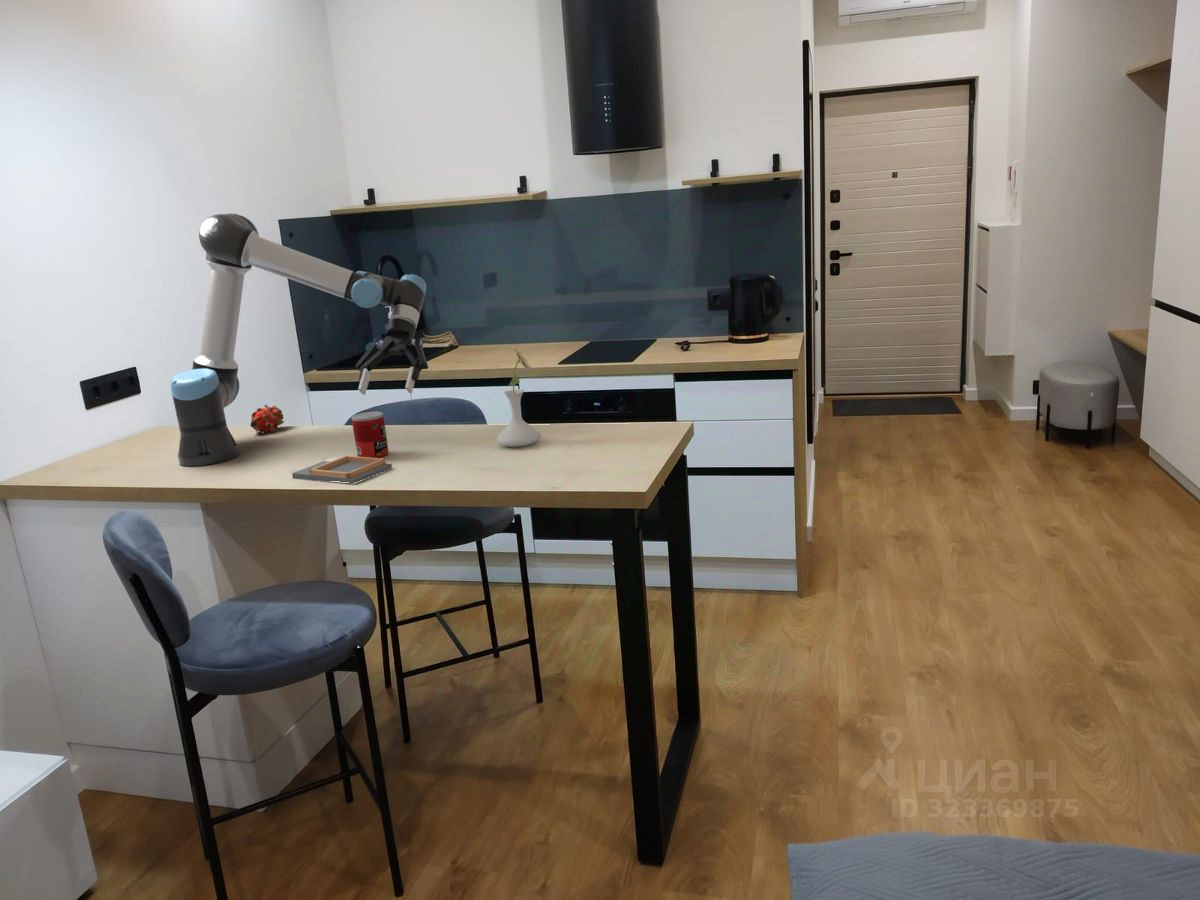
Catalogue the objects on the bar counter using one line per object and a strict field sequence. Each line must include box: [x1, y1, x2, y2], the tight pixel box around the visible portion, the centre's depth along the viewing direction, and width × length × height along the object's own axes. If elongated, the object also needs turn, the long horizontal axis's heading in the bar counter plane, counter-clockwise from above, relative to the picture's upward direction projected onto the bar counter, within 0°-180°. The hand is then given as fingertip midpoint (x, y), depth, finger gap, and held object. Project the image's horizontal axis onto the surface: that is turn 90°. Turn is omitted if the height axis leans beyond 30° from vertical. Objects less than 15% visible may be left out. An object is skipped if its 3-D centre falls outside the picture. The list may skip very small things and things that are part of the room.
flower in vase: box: [496, 345, 542, 448], centre depth 235 cm, size 13×11×25 cm
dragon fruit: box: [249, 404, 285, 435], centre depth 276 cm, size 8×8×12 cm
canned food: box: [351, 411, 390, 459], centre depth 236 cm, size 8×8×11 cm
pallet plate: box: [291, 455, 393, 483], centre depth 224 cm, size 20×13×2 cm, turn 60°
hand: (384, 391), depth 244 cm, fingers open, 13 cm apart
